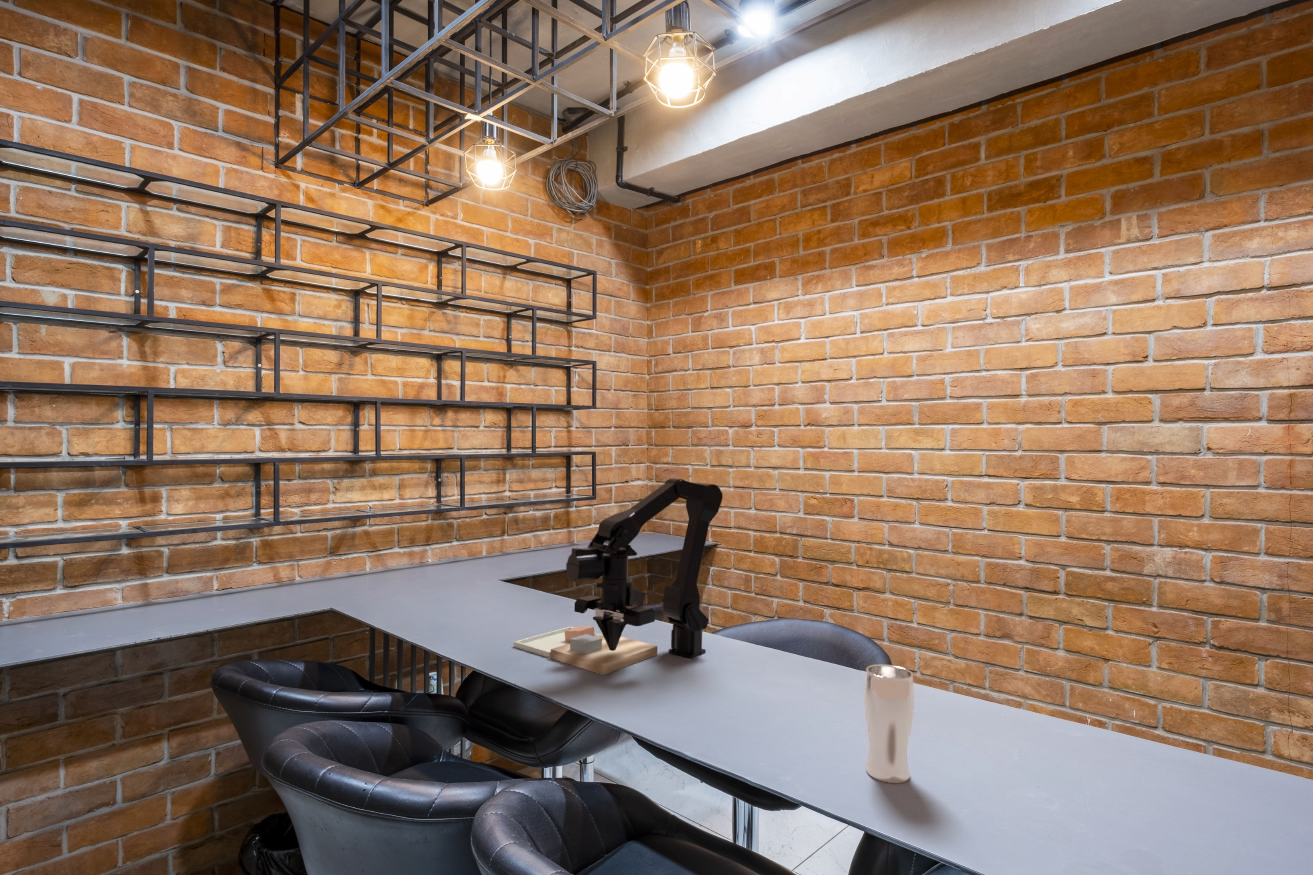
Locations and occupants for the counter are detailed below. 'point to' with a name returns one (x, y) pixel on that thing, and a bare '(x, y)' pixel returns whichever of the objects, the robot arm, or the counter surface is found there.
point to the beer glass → (888, 721)
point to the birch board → (606, 655)
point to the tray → (544, 642)
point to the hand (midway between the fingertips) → (612, 650)
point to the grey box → (586, 644)
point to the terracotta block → (578, 632)
